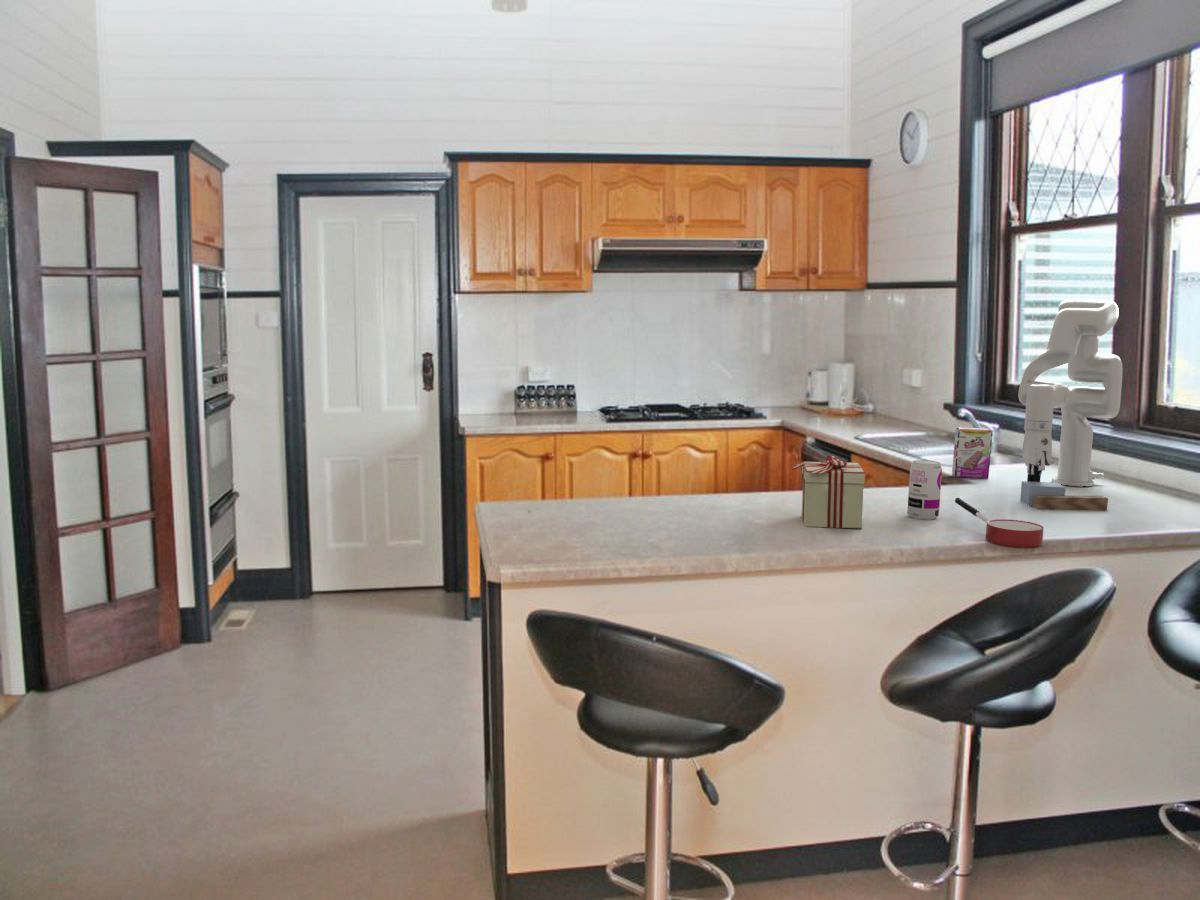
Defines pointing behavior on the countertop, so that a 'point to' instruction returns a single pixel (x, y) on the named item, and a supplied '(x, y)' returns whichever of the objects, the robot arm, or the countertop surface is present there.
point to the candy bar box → (972, 453)
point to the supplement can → (924, 489)
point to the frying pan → (1008, 530)
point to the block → (1039, 490)
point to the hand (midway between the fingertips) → (1033, 487)
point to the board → (1070, 502)
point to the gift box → (832, 494)
